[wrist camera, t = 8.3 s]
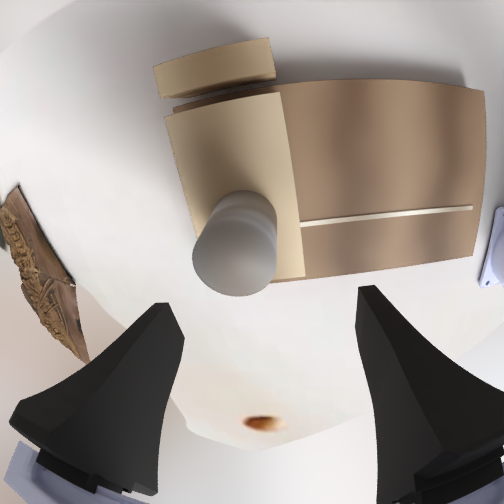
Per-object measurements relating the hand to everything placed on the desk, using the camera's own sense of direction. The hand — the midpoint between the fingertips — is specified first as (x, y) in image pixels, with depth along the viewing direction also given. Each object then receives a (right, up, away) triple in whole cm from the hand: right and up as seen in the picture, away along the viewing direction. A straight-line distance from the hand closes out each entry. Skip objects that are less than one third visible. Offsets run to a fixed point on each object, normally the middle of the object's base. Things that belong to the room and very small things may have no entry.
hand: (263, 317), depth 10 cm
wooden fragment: (-23, -2, +15) cm, 28 cm away
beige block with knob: (-1, +8, +5) cm, 10 cm away
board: (+6, +7, +6) cm, 11 cm away
